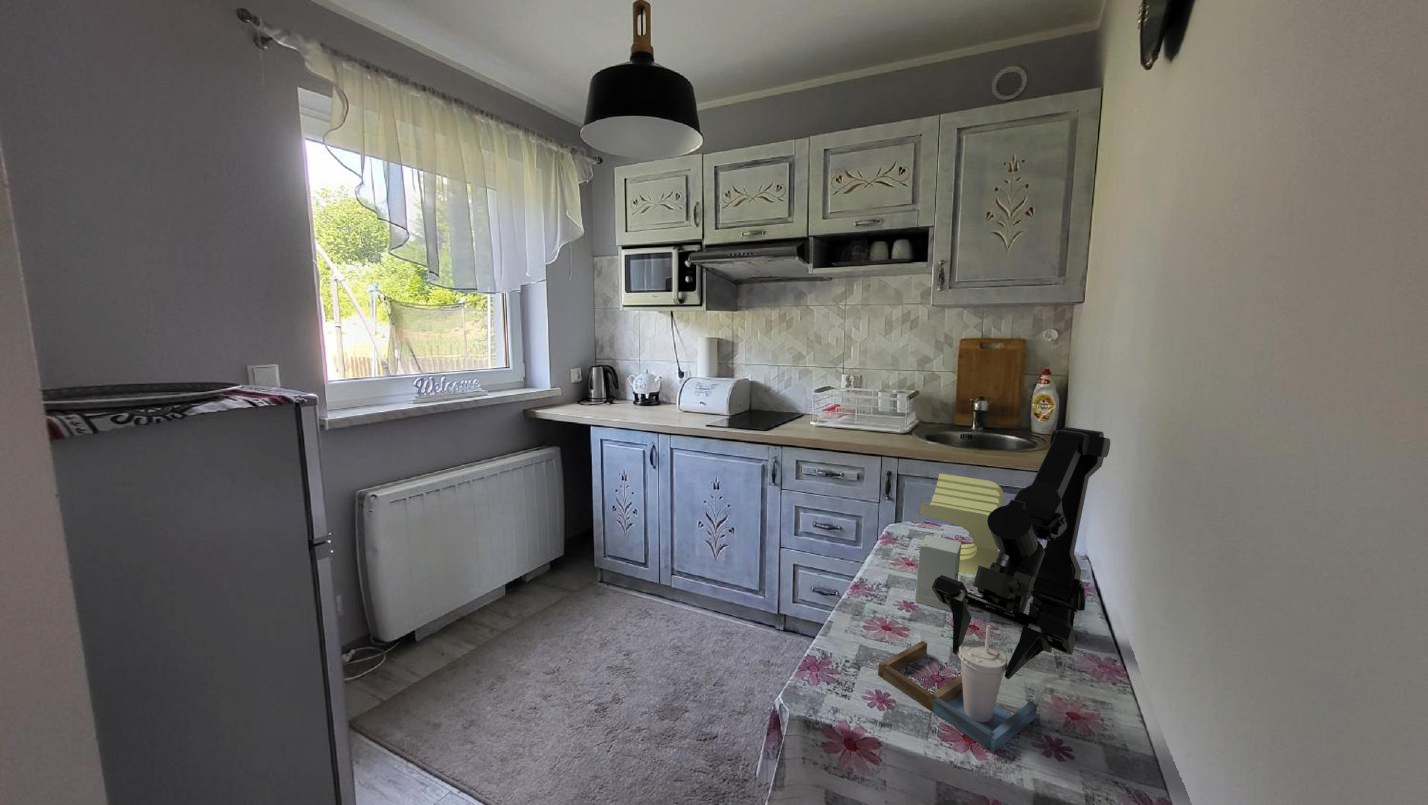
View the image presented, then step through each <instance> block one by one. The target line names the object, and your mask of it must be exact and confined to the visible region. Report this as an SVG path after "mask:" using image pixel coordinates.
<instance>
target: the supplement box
mask: <svg viewBox="0 0 1428 805" xmlns="http://www.w3.org/2000/svg"><path fill="white" fill-rule="evenodd" d="M923 538H924V539H923V540H922V541H921V544H920V545H919V554H918V555H919V556H918V566H917V567H918V568H917V577H916V586H915V587H916V588H915V599H914V601H915V602H917V603H919V604H924V605H926V606H931V607H933V608H937V609H940V610H945V611H947V610H948V612H952V611H951V610H950V608H949V606H948V605H945V604H943V603H942V602H940V601H939V599H938V598H937V596H936V594H935V593H934V591H933V589H932V585H933V583H934V581H935V579H936V578H937V577H939V576H941V575H943V576H946V577H949V578H952V579H954V580H957V581H959V573H960V572H959V564H960V553H961V544H963V543H962V541H958V540H953V539H950V538H946V537H945V538H944V537H938V536H935V535H930V534H929V535H928V534H926V535H925V537H923Z"/></svg>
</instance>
